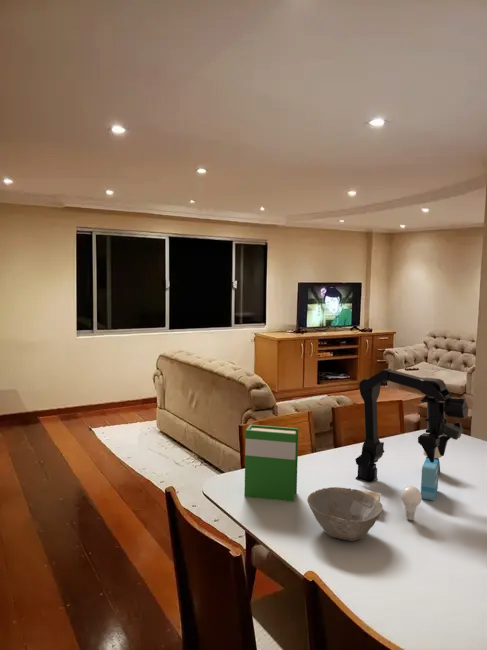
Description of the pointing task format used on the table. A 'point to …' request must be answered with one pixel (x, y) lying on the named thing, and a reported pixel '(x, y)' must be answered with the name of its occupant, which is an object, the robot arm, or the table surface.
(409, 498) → the lightbulb
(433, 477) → the data package
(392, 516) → the table surface
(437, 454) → the character mug
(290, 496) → the hardback book
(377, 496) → the kraft carton
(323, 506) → the ceramic bowl
